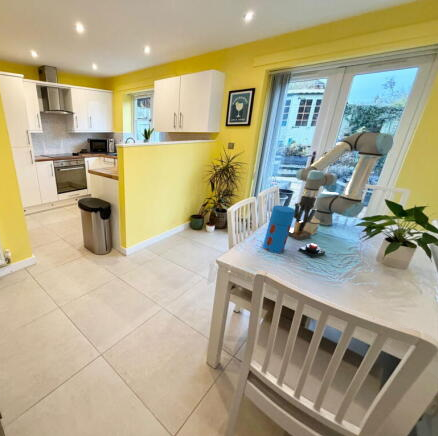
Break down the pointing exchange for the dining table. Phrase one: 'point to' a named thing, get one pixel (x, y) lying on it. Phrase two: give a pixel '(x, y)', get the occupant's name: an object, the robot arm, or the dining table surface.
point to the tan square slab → (297, 226)
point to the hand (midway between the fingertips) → (298, 230)
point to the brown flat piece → (299, 234)
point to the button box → (311, 251)
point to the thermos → (278, 228)
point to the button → (313, 245)
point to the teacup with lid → (312, 226)
